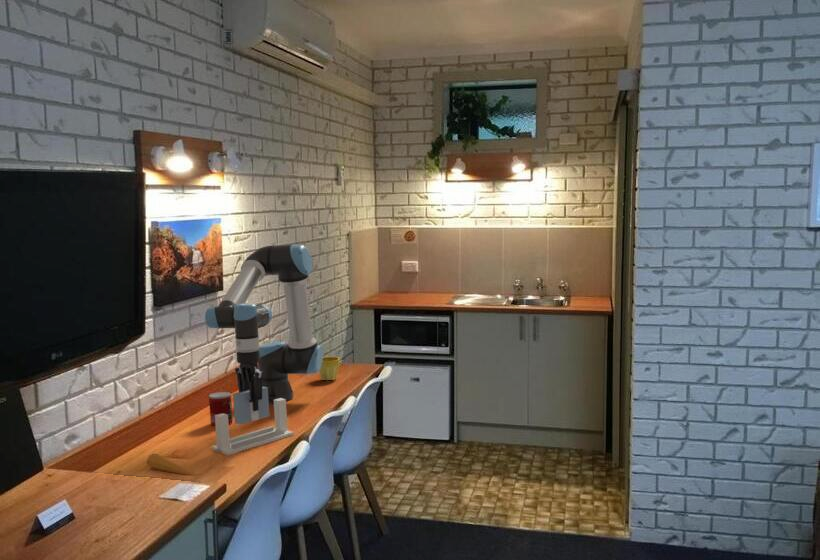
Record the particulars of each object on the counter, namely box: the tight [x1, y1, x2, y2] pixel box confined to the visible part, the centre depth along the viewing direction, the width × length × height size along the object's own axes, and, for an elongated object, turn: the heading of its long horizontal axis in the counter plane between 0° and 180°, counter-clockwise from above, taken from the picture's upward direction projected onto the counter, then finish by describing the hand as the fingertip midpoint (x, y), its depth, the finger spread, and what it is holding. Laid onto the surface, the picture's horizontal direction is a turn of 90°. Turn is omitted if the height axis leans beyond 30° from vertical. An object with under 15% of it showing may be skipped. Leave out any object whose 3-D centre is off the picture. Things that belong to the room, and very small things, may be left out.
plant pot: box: [318, 356, 341, 380], centre depth 328 cm, size 10×10×10 cm
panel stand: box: [211, 398, 295, 456], centre depth 242 cm, size 26×10×12 cm, turn 136°
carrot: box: [146, 453, 197, 476], centre depth 218 cm, size 20×4×4 cm, turn 63°
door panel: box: [232, 386, 270, 426], centre depth 242 cm, size 12×2×10 cm, turn 136°
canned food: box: [208, 391, 233, 427], centre depth 265 cm, size 8×8×11 cm
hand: (252, 419), depth 242 cm, fingers closed on door panel, 2 cm apart
